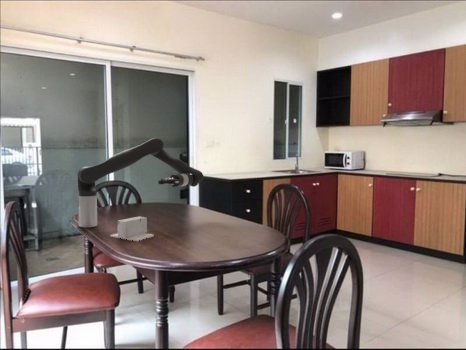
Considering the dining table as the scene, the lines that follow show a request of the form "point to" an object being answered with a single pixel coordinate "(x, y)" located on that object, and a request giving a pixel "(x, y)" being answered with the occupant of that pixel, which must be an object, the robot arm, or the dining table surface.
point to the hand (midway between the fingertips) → (159, 182)
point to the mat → (134, 238)
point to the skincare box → (132, 226)
